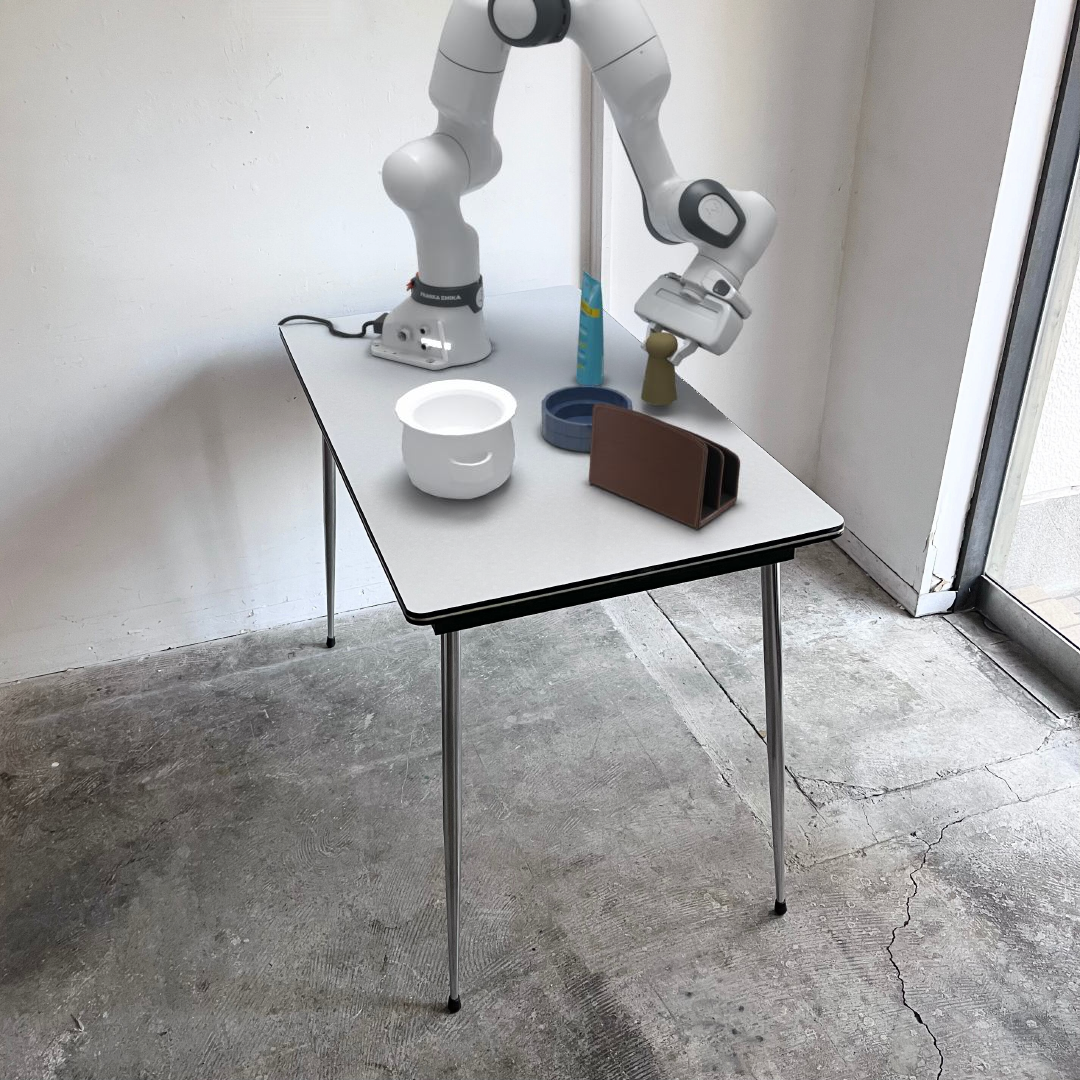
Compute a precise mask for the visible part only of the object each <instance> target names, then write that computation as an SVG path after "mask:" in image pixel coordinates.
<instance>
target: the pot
mask: <svg viewBox="0 0 1080 1080" xmlns="http://www.w3.org/2000/svg"><path fill="white" fill-rule="evenodd" d="M517 404H518V403H517V400H516V398H515V397H514V396H513V395H512V394H511V392H509V391H508V390H506V389H505V388H503V387H501V386H499V385H495V384H492V383H489V382H486V381H479V380H472V379H446V380H445V379H444V380H438V381H432V382H429V383H425V384H423V385H420V386H418V387H415V388H413V389H411V390H409V391H407V392H406V393H404V395H402V396H401V397H400V398H398V399H397V401H396V405H395V409H394V413H395V414H396V416H397V419H398V421H399V422H400V423H401V424H403V425H402V434H401V455H402V461H403V463H404V467H405V470H406V472H407V474H408V476H409V478H410V481H411V484H412V485H414V486H415V487H416V488H418V489H419V490H420V491H422V492H423V493H426V494H429V495H432V496H434V497H436V498H444V499H452V500H473V499H476V498H479V497H482V496H484V495H487V494H489V493H491V492H493V491H494V490H496V489H499V487H501V486H502V485H503V484H504V483H506V481H507V480H509V478H510V475H511V472H512V469H513V465H514V461H515V457H516V442H515V436H514V429H513V424H512V420H513V418H515V416H516V412H517V409H518V406H517Z"/></svg>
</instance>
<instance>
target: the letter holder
mask: <svg viewBox="0 0 1080 1080" xmlns="http://www.w3.org/2000/svg"><path fill="white" fill-rule="evenodd" d="M590 449H591V450H590V451H589V453H590V455H589V467H588V468H589V471H588V483H590V484H591V485H594V486H597V487H599V488H602V489H603V490H606V491H608V492H610V493H613V494H615V495H618V496H620V497H623V498H625V499H626V500H629V501H631V502H634V503H636V504H638V505H640V506H642V507H645V508H647V509H648V510H649V509H650V510H651V511H654V512H656V513H659V514H661V515H663V516H665V517H668V518H669V519H672V520H674V521H677V522H679V523H681V524H684V525H686V526H688V527H690V528H693V529H695V530H696V531H698V530H699V529H701V528H702V527H703V526H705V525H706V524H707V523H709V522H710V521H712V520H713V519H714V518H716V517H718V516H719V515H720V514H722V513H723V512H724V511H726V510H727V509H729V508H730V507H732V506H734V505H735V504H737V501H738V494H739V479H740V471H741V458H740V457H739V455H738V454H736V453H735V452H734V451H733V450H730V449H729V448H727V447H726V446H724V445H721V444H719V443H718V442H715V441H714V440H711V439H709V438H707V437H705V436H702V435H700V434H698V433H695V432H693V431H690V430H688V429H685V428H683V427H680V426H677V425H674V424H671V423H669V422H667V421H664V420H662V419H659V418H656V417H655V416H651V415H650V414H646V413H643V412H640V411H638V410H630V409H627V408H623V407H619V406H614V405H610V404H605V403H596V404H595V405H594V407H593V414H592V432H591V448H590Z"/></svg>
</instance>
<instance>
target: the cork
mask: <svg viewBox="0 0 1080 1080" xmlns="http://www.w3.org/2000/svg"><path fill="white" fill-rule="evenodd" d="M678 349H679V342H678V339H677V336H675V335H672V334H670V333H668V332H666V331H662V332H657V333H653V334H651V335H650V336H649V337H648V339H647V341H646V351H647V352H646V351H645V352H646V353H647V354H648V355H647V361H646V367H645V372H644V378H643V383H642V387H641V394H640V399H641V400H642V401H643V402H645V403H647V404H650V405H655V406H667V405H670V404H673V403H675V402H676V401H677V400H678V392H677V380H676V379H677V378H676V366H674V365H672V364H670V363H669V362H668V361H667V357H668V356H669V355H670V353H671V351H672V350H673V351H675V352H676V351H677V350H678Z"/></svg>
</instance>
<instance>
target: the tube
mask: <svg viewBox="0 0 1080 1080" xmlns="http://www.w3.org/2000/svg"><path fill="white" fill-rule="evenodd" d="M582 271H583V274H582V284H581V293H580V305H579V320H578V321H579V323H578V336H577V337H578V338H577V355H576V356H577V357H576V359H577V360H576V378H575V379H576V383H578V384H579V385H595V386H600V385H602V384H603V383H604V381H605V348H604V346H605V345H604V343H605V341H604V340H605V339H604V304H603V303H604V302H603V290H602V282H601V281H600V280H598V279H597V278H596V277H595V278H594V277H593V276H592V275H590V274H589V273H588V272H587V271H586V270H585V269H584V268H582Z"/></svg>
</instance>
